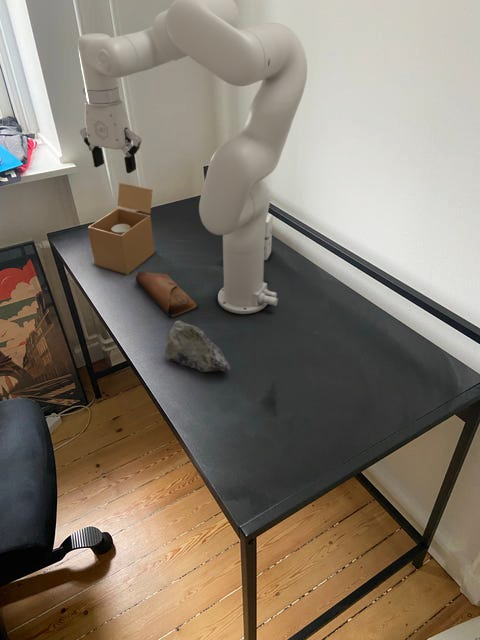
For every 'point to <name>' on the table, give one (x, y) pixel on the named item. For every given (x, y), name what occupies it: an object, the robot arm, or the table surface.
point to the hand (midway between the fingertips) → (115, 168)
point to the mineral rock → (194, 349)
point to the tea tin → (120, 228)
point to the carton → (121, 241)
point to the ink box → (268, 236)
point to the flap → (135, 197)
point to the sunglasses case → (166, 293)
